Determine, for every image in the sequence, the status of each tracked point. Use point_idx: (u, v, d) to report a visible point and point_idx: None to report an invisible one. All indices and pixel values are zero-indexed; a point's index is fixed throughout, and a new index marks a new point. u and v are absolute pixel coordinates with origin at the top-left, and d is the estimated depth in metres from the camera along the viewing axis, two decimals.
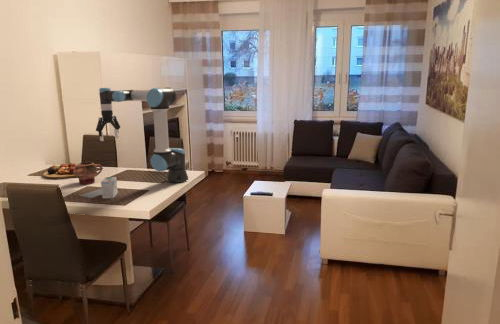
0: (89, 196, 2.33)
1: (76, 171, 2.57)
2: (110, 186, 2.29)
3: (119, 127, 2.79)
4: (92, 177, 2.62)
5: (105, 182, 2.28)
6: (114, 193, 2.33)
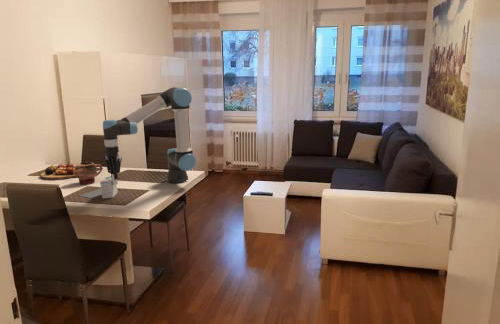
0: (89, 196, 2.33)
1: (76, 171, 2.57)
2: (109, 186, 2.28)
3: (115, 172, 2.27)
4: (92, 177, 2.62)
5: (104, 182, 2.28)
6: (114, 193, 2.33)
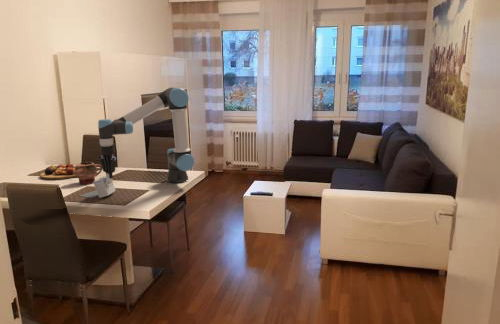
0: (89, 196, 2.33)
1: (76, 171, 2.57)
2: (102, 184, 2.28)
3: (110, 171, 2.28)
4: (92, 177, 2.62)
5: (97, 181, 2.28)
6: (109, 190, 2.32)
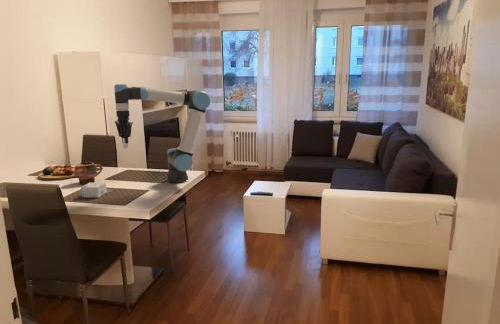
0: None
1: (76, 171, 2.57)
2: (85, 188, 2.30)
3: (126, 136, 2.32)
4: (92, 177, 2.62)
5: (82, 193, 2.31)
6: (96, 185, 2.33)
